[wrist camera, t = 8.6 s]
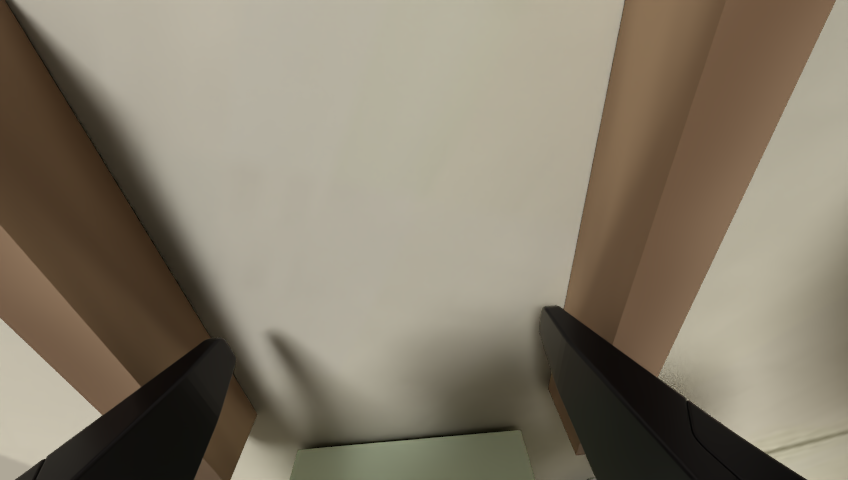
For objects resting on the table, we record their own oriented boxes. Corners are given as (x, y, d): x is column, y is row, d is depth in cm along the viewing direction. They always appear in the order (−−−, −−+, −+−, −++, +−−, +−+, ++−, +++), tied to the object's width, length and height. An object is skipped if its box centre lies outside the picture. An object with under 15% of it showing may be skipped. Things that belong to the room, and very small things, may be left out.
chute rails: (728, -88, 6) (916, -170, 4) (586, 385, 13) (622, 451, 11) (-93, -12, 6) (-382, -48, 4) (218, 418, 13) (181, 490, 11)
